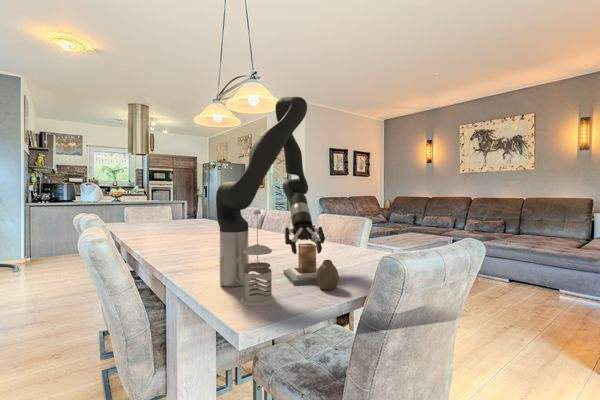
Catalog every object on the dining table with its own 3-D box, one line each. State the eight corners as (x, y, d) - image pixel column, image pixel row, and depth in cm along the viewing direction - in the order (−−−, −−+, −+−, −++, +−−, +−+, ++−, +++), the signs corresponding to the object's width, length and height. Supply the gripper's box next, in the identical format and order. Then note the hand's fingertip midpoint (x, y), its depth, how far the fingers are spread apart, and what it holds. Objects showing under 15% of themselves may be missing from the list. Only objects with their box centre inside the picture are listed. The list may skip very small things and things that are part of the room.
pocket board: (293, 285, 99) (293, 276, 99) (283, 274, 113) (283, 266, 113) (334, 281, 103) (334, 273, 103) (319, 271, 117) (319, 264, 117)
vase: (323, 293, 92) (323, 263, 91) (312, 286, 98) (312, 259, 97) (343, 289, 95) (343, 261, 94) (330, 283, 101) (330, 257, 101)
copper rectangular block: (301, 275, 105) (301, 246, 105) (298, 271, 110) (298, 243, 110) (316, 274, 106) (316, 245, 106) (312, 271, 111) (312, 243, 111)
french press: (279, 303, 83) (279, 210, 82) (236, 309, 79) (235, 211, 78) (270, 292, 92) (270, 208, 92) (230, 297, 88) (230, 209, 88)
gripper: (283, 210, 115) (288, 247, 104) (320, 210, 118) (329, 245, 107) (281, 223, 120) (286, 259, 109) (317, 223, 123) (325, 257, 112)
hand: (307, 252), depth 108 cm, fingers open, 8 cm apart
